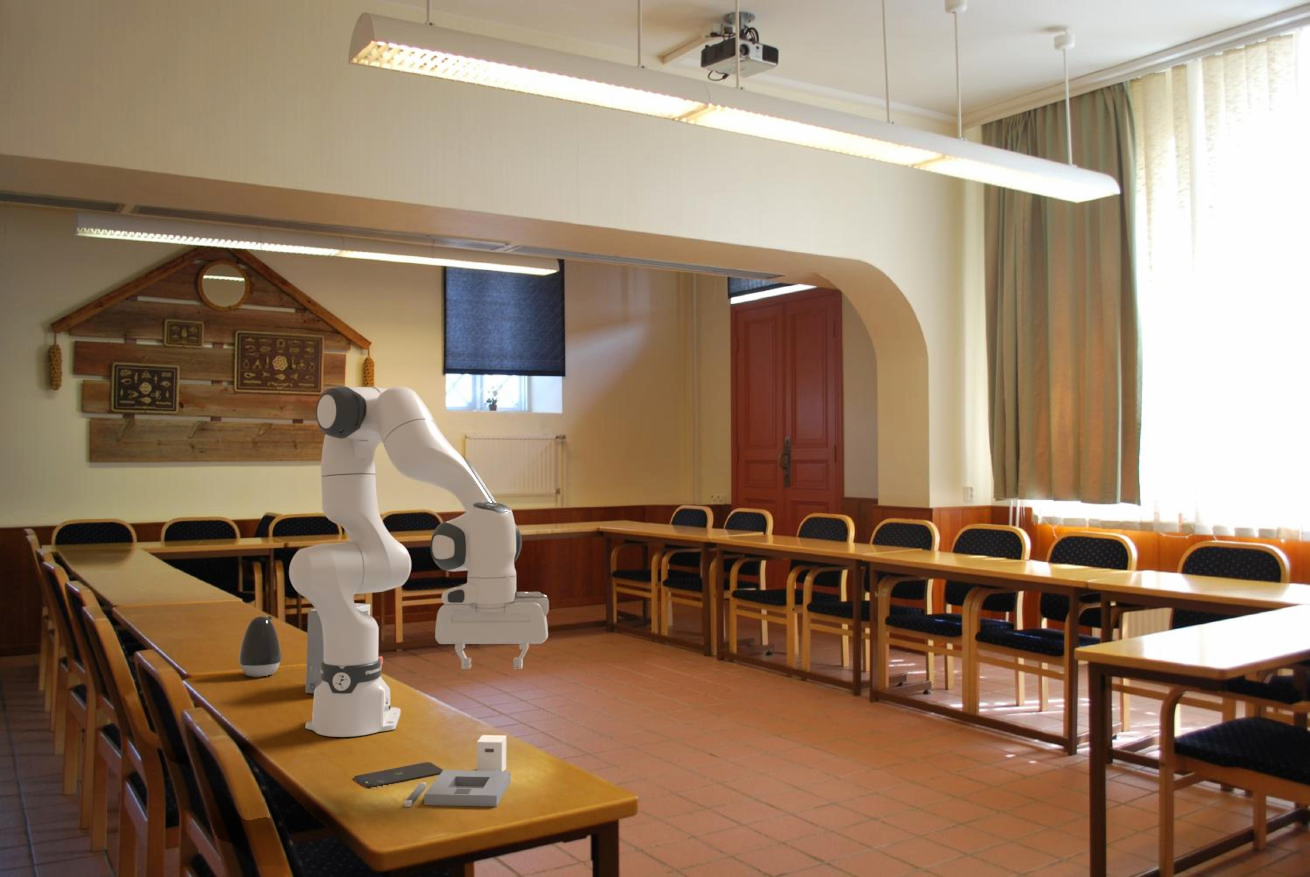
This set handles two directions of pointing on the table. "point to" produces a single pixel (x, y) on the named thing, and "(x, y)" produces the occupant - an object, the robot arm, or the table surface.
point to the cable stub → (415, 795)
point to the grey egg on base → (260, 648)
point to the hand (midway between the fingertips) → (492, 668)
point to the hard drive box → (318, 647)
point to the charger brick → (491, 753)
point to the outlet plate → (468, 788)
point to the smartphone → (398, 775)
